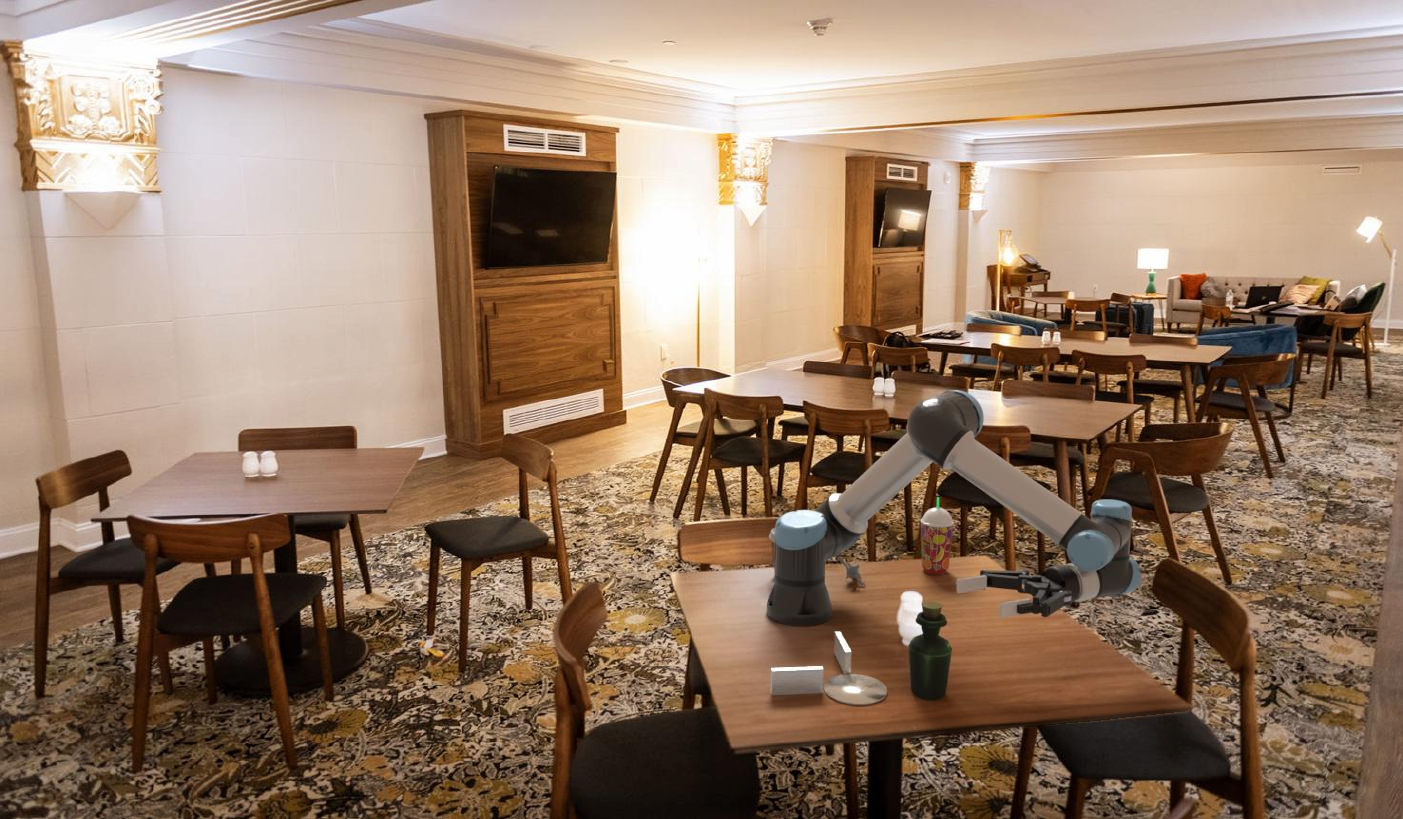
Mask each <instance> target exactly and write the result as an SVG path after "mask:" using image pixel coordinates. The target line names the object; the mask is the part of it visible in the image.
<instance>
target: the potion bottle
mask: <svg viewBox="0 0 1403 819" xmlns="http://www.w3.org/2000/svg"><path fill="white" fill-rule="evenodd" d="M921 609H922V611H920V612H918V614H917V615H916V618H915V623H916V624H918V625H919V626H921V631H922V633H921V634H919V635H916V636H914V637H912V639H911V640H910V641H909V643H908V660H909V661H908V662H909V680H910V683H909V684H910V692H911V694H912V695H914V697H916V698H918V699H920V700H923V701H930V702H931V701H932V702H933V701H934V702H935V701H939V700H942V699H943V698H945V696H946V694H947V690H948V688H947V687H948V682H949V681H948V680H949V675H950V674H949V673H950V667H951V659H952V652H953V647H952V646H951V643H950V642H949V640H947V639H945V638H944V637H942V636H941V635H940V633H941V632H940V631H941V628H944V627H945V626H947V625H948V621H947V617H946V616H945V614H943V613H942V609H943V604H942V603H940V602H939V601H934V600H933V601H932V600H930V601H929V600H927V601H926V600H925V601H923V602H922V603H921Z"/></svg>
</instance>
